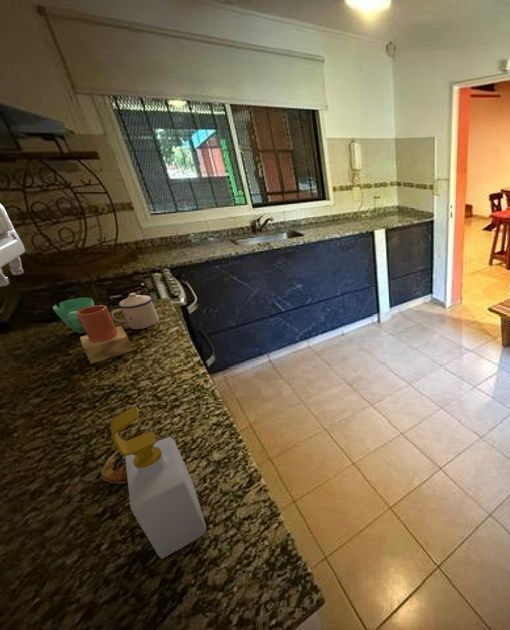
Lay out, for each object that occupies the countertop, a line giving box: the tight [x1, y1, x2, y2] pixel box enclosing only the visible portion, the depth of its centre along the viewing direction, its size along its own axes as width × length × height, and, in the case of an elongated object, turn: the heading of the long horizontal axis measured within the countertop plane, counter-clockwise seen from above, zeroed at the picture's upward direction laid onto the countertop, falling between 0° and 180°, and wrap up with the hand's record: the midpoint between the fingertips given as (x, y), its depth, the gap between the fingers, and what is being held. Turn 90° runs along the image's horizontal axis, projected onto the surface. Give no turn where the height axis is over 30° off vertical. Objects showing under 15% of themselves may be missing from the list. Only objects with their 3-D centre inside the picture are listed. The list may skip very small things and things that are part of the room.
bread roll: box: [100, 434, 164, 485], centre depth 68 cm, size 11×11×5 cm
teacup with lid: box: [110, 292, 160, 330], centre depth 118 cm, size 12×9×12 cm
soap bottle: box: [110, 405, 207, 560], centre depth 53 cm, size 12×7×23 cm, turn 41°
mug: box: [52, 297, 95, 334], centre depth 114 cm, size 15×10×10 cm
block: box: [79, 325, 134, 364], centre depth 105 cm, size 10×10×5 cm
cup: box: [76, 304, 118, 342], centre depth 102 cm, size 7×7×9 cm
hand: (12, 279), depth 87 cm, fingers open, 8 cm apart
